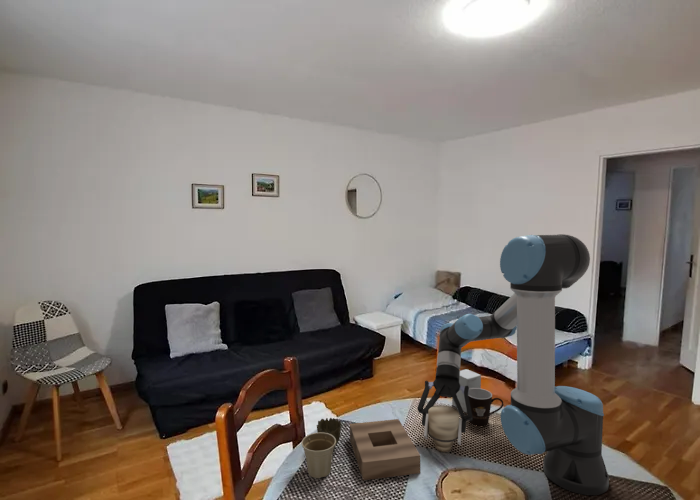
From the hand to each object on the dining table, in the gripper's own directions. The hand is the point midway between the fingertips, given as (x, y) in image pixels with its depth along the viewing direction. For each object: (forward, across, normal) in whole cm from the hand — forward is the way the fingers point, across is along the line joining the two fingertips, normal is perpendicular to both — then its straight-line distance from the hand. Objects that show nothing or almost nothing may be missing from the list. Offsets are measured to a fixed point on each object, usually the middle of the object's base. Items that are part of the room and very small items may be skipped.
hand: (442, 440), depth 114 cm
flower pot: (+17, +31, +10) cm, 37 cm away
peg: (+1, 0, -5) cm, 5 cm away
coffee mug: (-13, -11, -19) cm, 25 cm away
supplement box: (-20, -5, -26) cm, 33 cm away
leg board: (+7, +16, +2) cm, 18 cm away
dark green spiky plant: (+9, +32, +3) cm, 34 cm away
